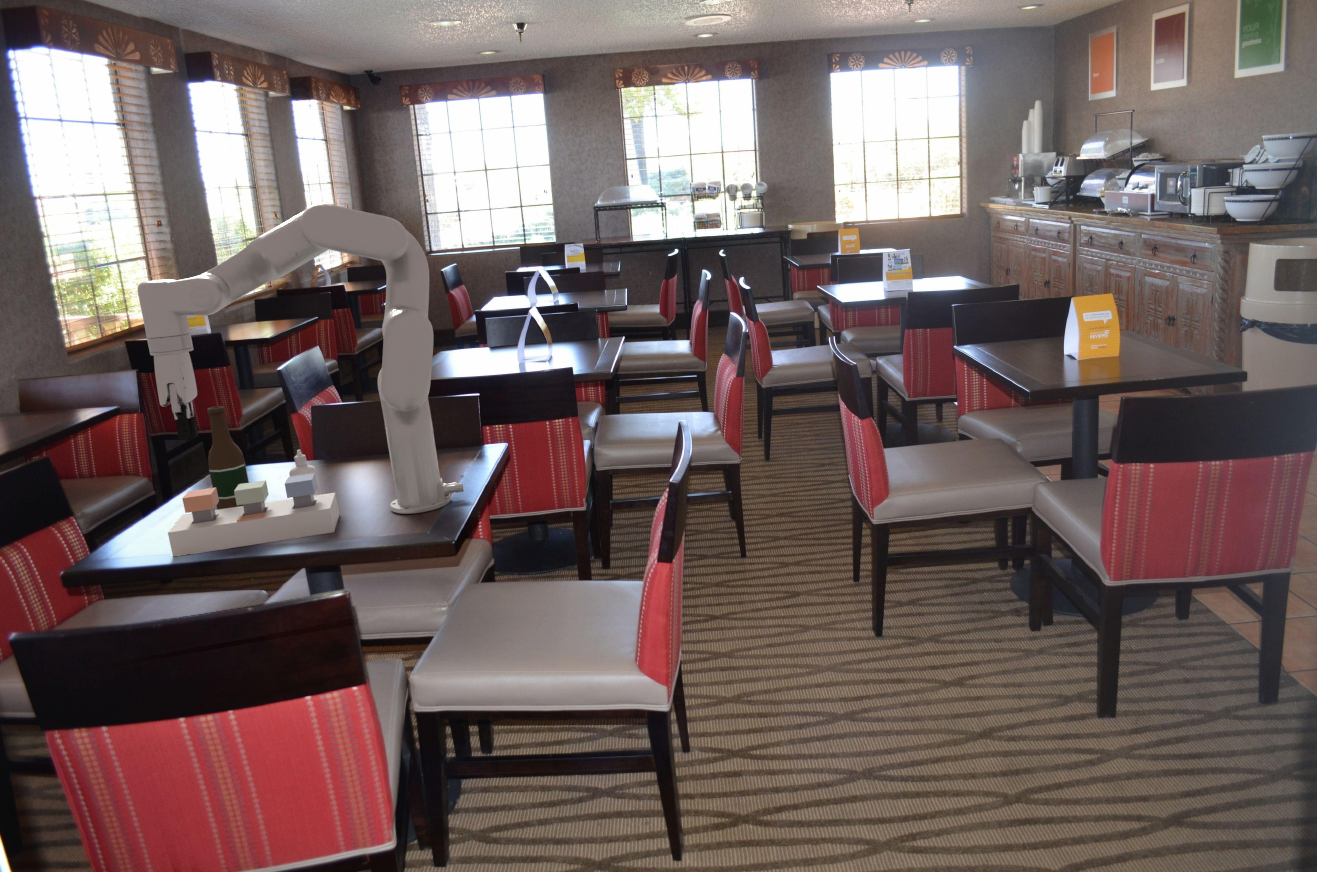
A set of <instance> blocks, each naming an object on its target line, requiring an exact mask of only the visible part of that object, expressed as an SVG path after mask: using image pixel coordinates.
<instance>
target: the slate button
mask: <svg viewBox="0 0 1317 872" xmlns="http://www.w3.org/2000/svg"><path fill="white" fill-rule="evenodd" d="M284 487H285V489H284V490H285V494H286V498H287V499H293V501H294V506H295V509H296V508H302V507H309V506H315V502H314V496H313V494H315V492H316V489H317V483H316V478H315V473H314V474H307V475H300V476H293V477H290V476H288V477H287V478H286V480H285V482H284Z"/></svg>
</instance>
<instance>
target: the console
mask: <svg viewBox="0 0 1317 872" xmlns="http://www.w3.org/2000/svg"><path fill="white" fill-rule="evenodd" d="M320 494H321V493H320ZM314 502H315V506H309V507H302V508H296V509H295V506H294V501H293V498H287V499H283V500H282V499H281V500H275V501H274V500H273V501H268V502H265V507H266V512H265V513H258V514H251V515H245V513H244V508H243V506H239V507H233V508H226V509H219V510H217V509H215V513H216V519H215V521H208V522H201V523H195V524H194V520H193V516H192V513H187V514H186V513H185V514H182V515H181V516H180V517H179V519H178V520H177V521H176V522H175V523H174V525H173V526H171V528H170V529H169V530H168V531H167V535H168V540H169V545H170V548H171V549H170V550H171V553H172V557H173V556H177V557H181V556H180V555H183V556H188V555H187V554H190V555H195V554H201V553H207V552H215V551H222V550H227V549H232V548H233V549H234V548H240V547H247V546H254V545H259V544H267V543H272V542H278V541H279V542H280V541H285V540H292V539H300V538H306V537H312V536H318V535H323V534H324V535H325V534H331V533H335V530H336V528H337V524H338V520H339V517H340V511H339V505H338V499H337V494H336V492H331V493H330V492H329V493H323V494H321V495H315V496H314Z"/></svg>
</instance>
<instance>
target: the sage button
mask: <svg viewBox="0 0 1317 872" xmlns="http://www.w3.org/2000/svg"><path fill="white" fill-rule="evenodd" d="M234 494H235V498H236V503H237V505H243V508H244V513H245V515H251V514H258V513H265V512H266V507H265V503H266V502H265V501H266V500H267V499H268V496H269V489H268V484H267V480H259V481H253V482H249V483H244V484H239V485H238V486H237V487H236V489H235V490H234Z"/></svg>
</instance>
